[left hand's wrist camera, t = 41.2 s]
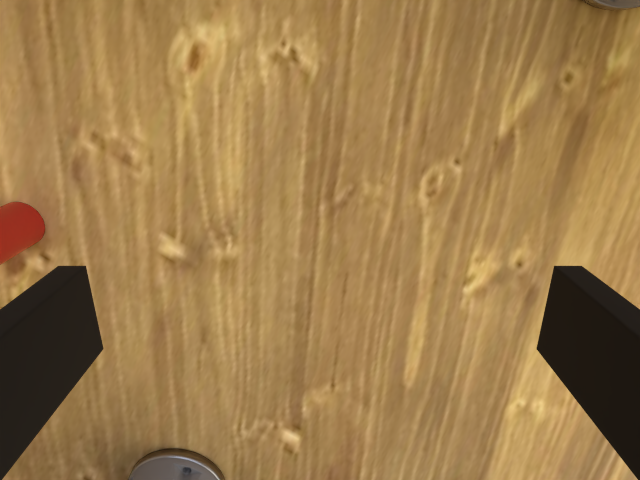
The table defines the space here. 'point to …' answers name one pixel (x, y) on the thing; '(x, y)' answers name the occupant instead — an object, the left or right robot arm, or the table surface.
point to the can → (18, 229)
